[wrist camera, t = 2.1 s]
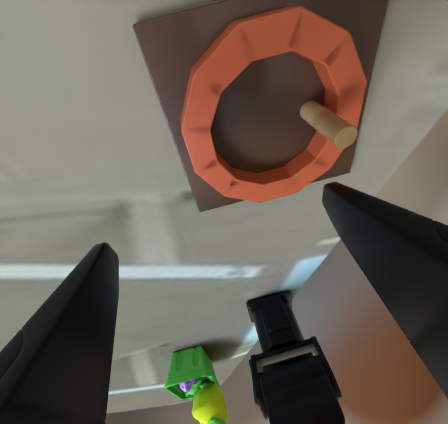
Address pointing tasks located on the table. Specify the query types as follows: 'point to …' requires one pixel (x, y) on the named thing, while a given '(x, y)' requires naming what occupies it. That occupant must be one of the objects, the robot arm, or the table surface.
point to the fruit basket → (197, 385)
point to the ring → (259, 49)
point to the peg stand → (257, 87)
